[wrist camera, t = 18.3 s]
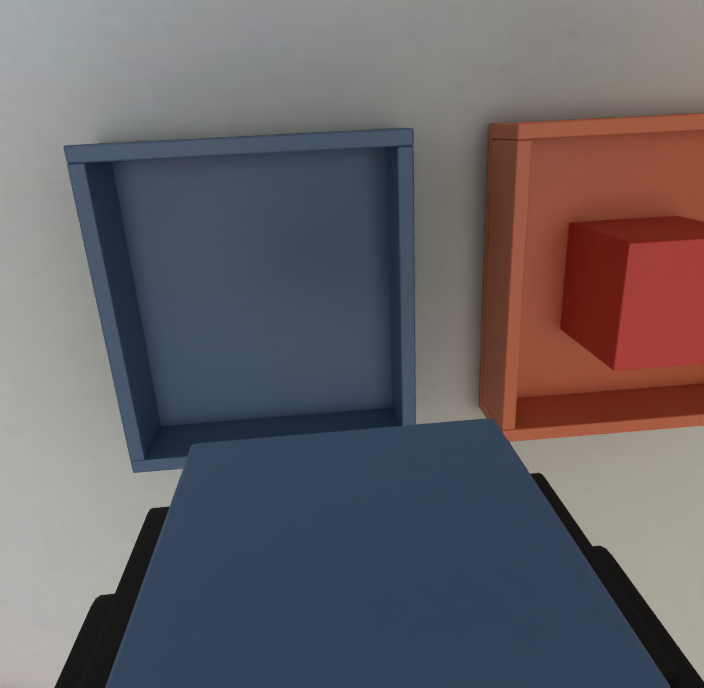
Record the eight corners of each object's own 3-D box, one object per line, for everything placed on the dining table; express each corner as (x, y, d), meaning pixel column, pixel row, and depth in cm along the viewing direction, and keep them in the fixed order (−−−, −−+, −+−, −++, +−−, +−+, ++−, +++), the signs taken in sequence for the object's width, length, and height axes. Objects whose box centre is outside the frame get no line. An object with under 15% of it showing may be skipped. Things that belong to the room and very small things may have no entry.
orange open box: (488, 123, 24) (518, 122, 20) (767, 109, 24) (839, 106, 21) (478, 406, 28) (501, 442, 25) (713, 388, 29) (765, 420, 26)
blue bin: (96, 143, 23) (62, 145, 20) (398, 128, 24) (413, 127, 20) (153, 433, 28) (132, 473, 24) (403, 413, 28) (416, 449, 25)
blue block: (190, 441, 9) (75, 761, 5) (494, 416, 9) (679, 691, 5) (230, 668, 11) (175, 1066, 6) (485, 641, 11) (613, 1002, 7)
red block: (569, 222, 25) (629, 243, 20) (678, 215, 25) (763, 234, 21) (559, 329, 27) (613, 371, 22) (662, 322, 27) (736, 362, 22)
